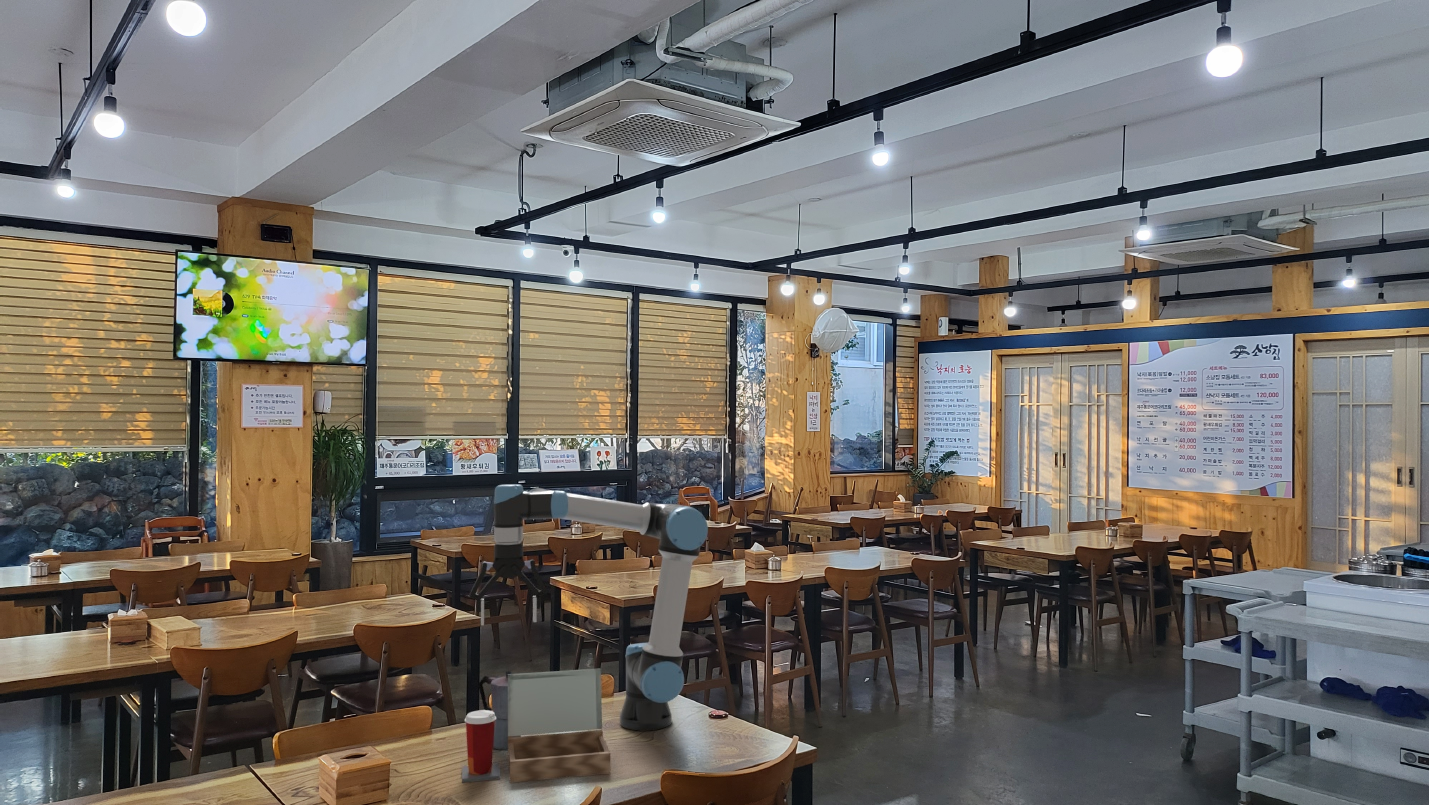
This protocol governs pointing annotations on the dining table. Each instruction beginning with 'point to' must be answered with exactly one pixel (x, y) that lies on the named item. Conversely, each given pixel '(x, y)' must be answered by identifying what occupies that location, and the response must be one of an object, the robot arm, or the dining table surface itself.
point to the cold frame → (557, 756)
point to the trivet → (489, 776)
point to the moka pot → (498, 708)
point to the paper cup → (480, 741)
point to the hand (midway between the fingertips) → (508, 623)
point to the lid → (554, 702)
